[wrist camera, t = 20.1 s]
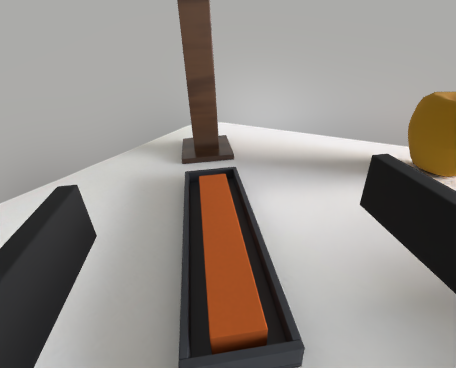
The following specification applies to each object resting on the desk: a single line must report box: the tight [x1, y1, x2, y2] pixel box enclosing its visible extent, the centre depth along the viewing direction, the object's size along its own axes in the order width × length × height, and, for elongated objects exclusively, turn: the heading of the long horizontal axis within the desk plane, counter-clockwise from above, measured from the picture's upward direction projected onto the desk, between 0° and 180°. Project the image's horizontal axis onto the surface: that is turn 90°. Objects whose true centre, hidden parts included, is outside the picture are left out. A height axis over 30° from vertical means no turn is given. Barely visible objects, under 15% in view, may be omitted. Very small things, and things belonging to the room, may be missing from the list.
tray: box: [179, 167, 305, 368], centre depth 29 cm, size 28×8×2 cm, turn 8°
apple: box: [408, 92, 456, 177], centre depth 38 cm, size 11×11×13 cm
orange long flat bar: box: [199, 174, 268, 355], centre depth 28 cm, size 24×4×2 cm, turn 7°
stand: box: [178, 0, 234, 164], centre depth 46 cm, size 14×10×30 cm
